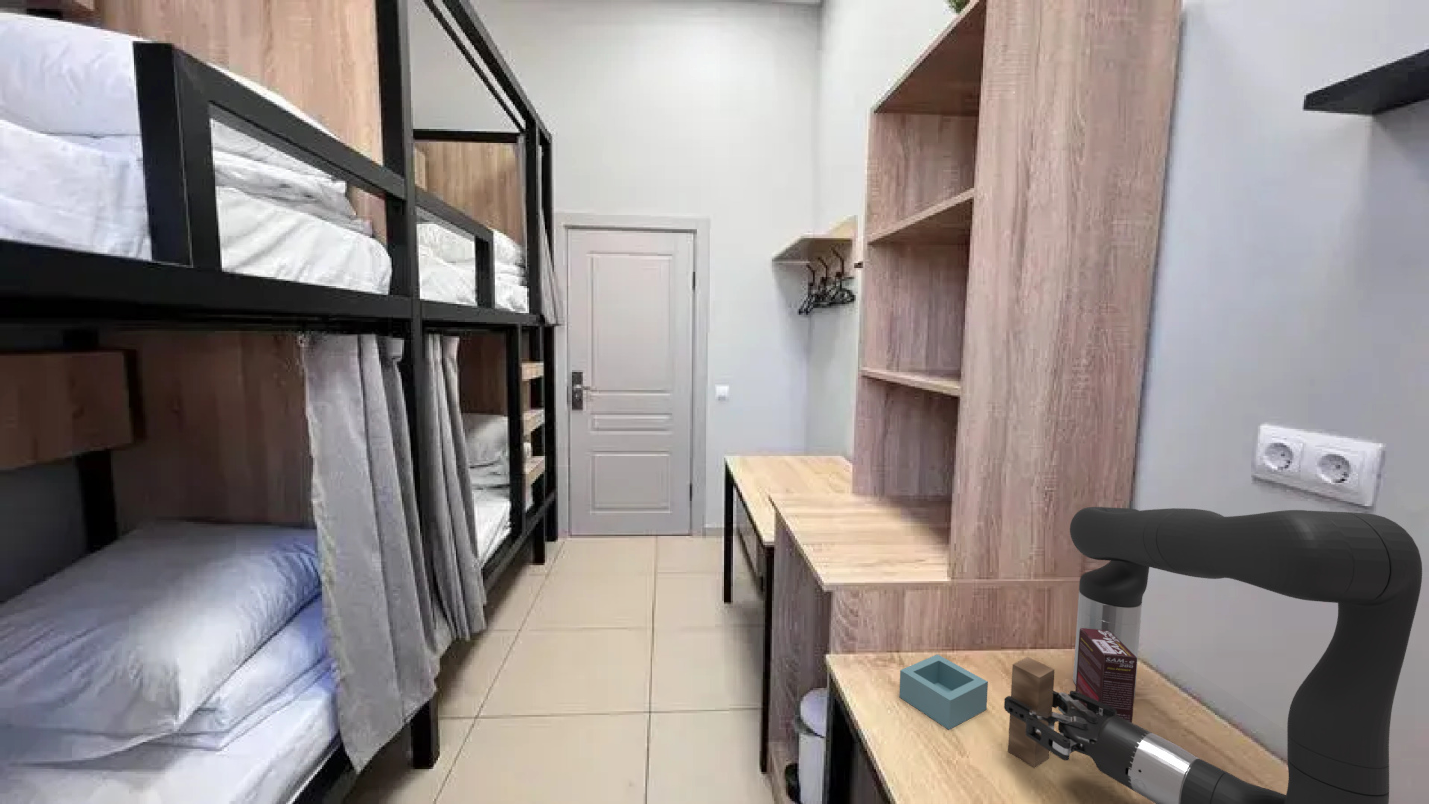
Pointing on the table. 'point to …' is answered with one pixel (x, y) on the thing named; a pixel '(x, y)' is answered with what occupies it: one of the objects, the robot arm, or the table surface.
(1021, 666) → the walnut post
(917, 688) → the well
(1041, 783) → the table surface
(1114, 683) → the supplement box
